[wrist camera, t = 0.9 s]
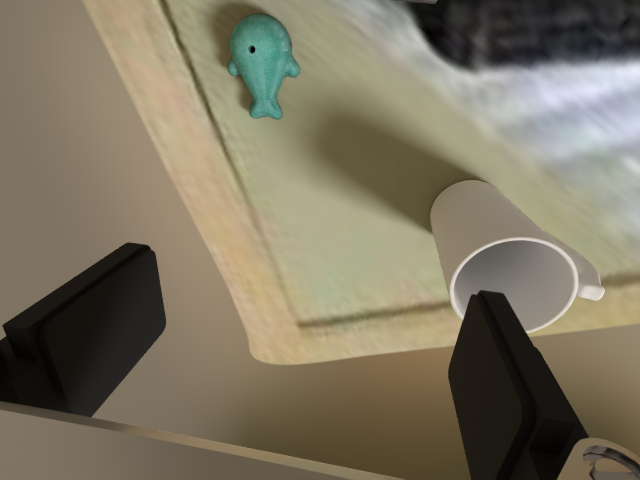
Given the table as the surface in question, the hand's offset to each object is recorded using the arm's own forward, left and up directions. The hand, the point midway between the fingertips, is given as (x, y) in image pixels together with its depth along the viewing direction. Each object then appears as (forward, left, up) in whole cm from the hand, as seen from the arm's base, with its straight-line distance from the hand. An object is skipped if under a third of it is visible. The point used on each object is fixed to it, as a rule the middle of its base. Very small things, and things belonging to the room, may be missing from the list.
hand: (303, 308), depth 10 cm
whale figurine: (-6, -8, -23) cm, 24 cm away
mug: (+4, +12, -22) cm, 26 cm away
